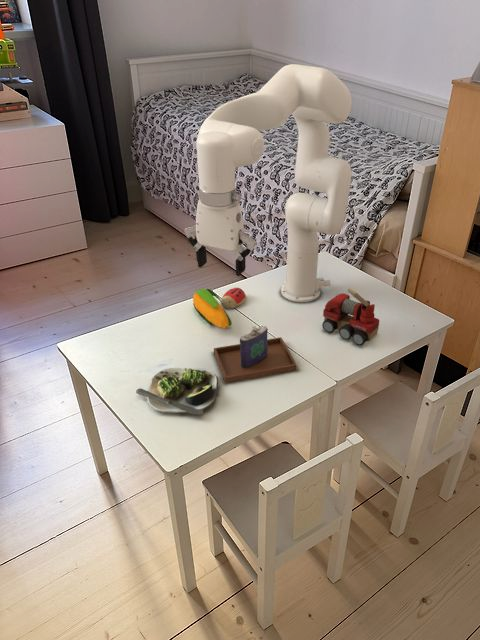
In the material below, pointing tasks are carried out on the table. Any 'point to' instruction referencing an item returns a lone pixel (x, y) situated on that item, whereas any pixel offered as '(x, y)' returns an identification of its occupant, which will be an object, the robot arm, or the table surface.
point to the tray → (272, 364)
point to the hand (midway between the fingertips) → (221, 269)
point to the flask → (253, 347)
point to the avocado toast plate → (182, 390)
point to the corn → (210, 308)
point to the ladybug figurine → (233, 298)
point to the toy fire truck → (351, 318)
